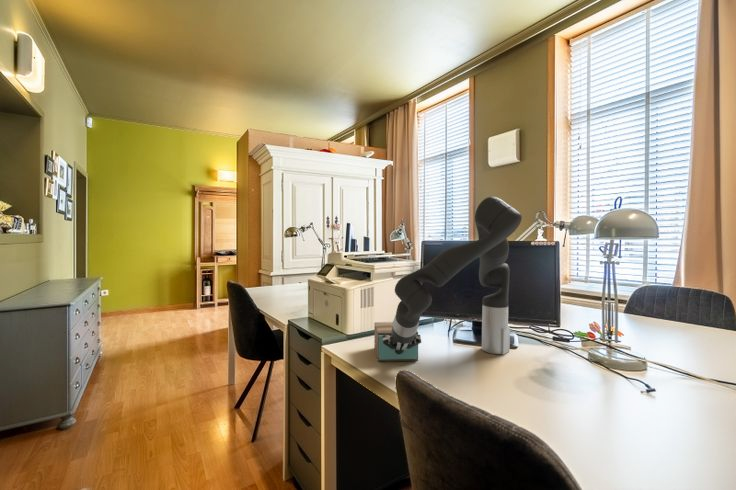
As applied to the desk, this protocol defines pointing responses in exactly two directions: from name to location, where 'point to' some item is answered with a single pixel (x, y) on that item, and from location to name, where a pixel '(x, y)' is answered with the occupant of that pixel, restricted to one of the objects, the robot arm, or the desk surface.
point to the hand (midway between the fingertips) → (398, 351)
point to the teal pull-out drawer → (389, 353)
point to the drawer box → (385, 329)
